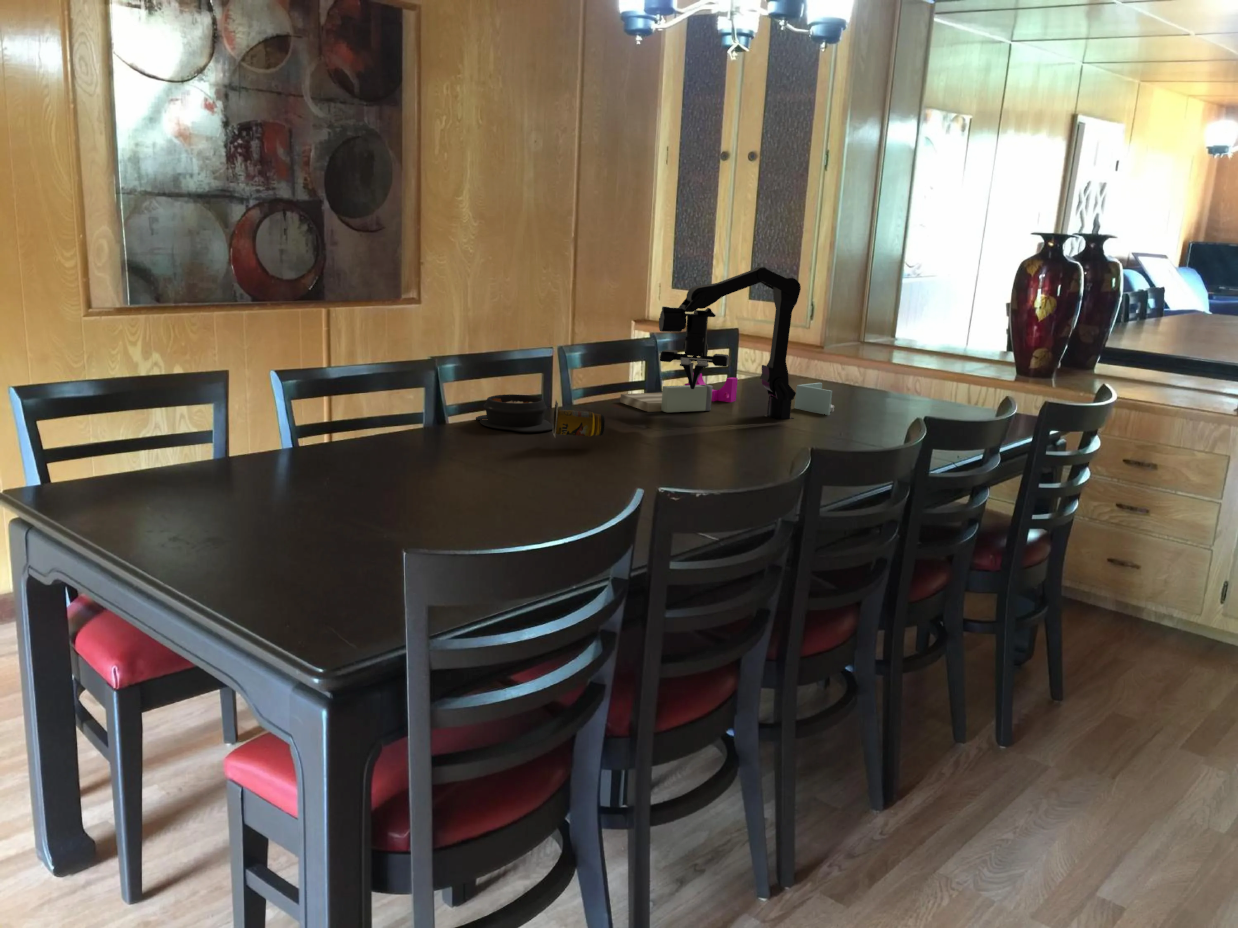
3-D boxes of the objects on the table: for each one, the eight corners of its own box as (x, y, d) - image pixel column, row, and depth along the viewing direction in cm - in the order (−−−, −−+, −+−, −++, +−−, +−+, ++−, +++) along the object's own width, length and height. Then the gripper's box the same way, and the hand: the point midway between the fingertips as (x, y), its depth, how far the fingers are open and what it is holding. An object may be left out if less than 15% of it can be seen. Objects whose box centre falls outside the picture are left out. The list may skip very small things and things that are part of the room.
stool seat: (706, 409, 284) (707, 400, 284) (648, 411, 274) (648, 403, 274) (676, 400, 298) (677, 392, 297) (620, 402, 288) (620, 394, 287)
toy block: (683, 398, 304) (685, 374, 302) (692, 396, 309) (694, 372, 307) (727, 404, 296) (729, 380, 295) (735, 402, 302) (737, 378, 300)
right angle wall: (828, 416, 285) (830, 391, 284) (794, 409, 293) (796, 385, 292) (850, 412, 294) (853, 388, 292) (817, 406, 302) (819, 382, 300)
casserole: (459, 425, 261) (459, 394, 259) (514, 419, 274) (514, 389, 272) (515, 441, 244) (516, 408, 242) (572, 434, 256) (573, 402, 255)
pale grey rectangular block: (706, 408, 284) (708, 384, 282) (712, 410, 281) (714, 386, 279) (660, 410, 276) (662, 386, 274) (667, 412, 273) (668, 387, 272)
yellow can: (554, 438, 231) (604, 441, 234) (557, 403, 230) (607, 406, 232) (551, 432, 238) (599, 435, 241) (554, 398, 237) (602, 401, 239)
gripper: (734, 333, 273) (729, 388, 276) (669, 328, 277) (665, 382, 281) (728, 336, 262) (724, 393, 266) (661, 331, 267) (657, 387, 270)
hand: (692, 389), depth 271 cm, fingers closed
